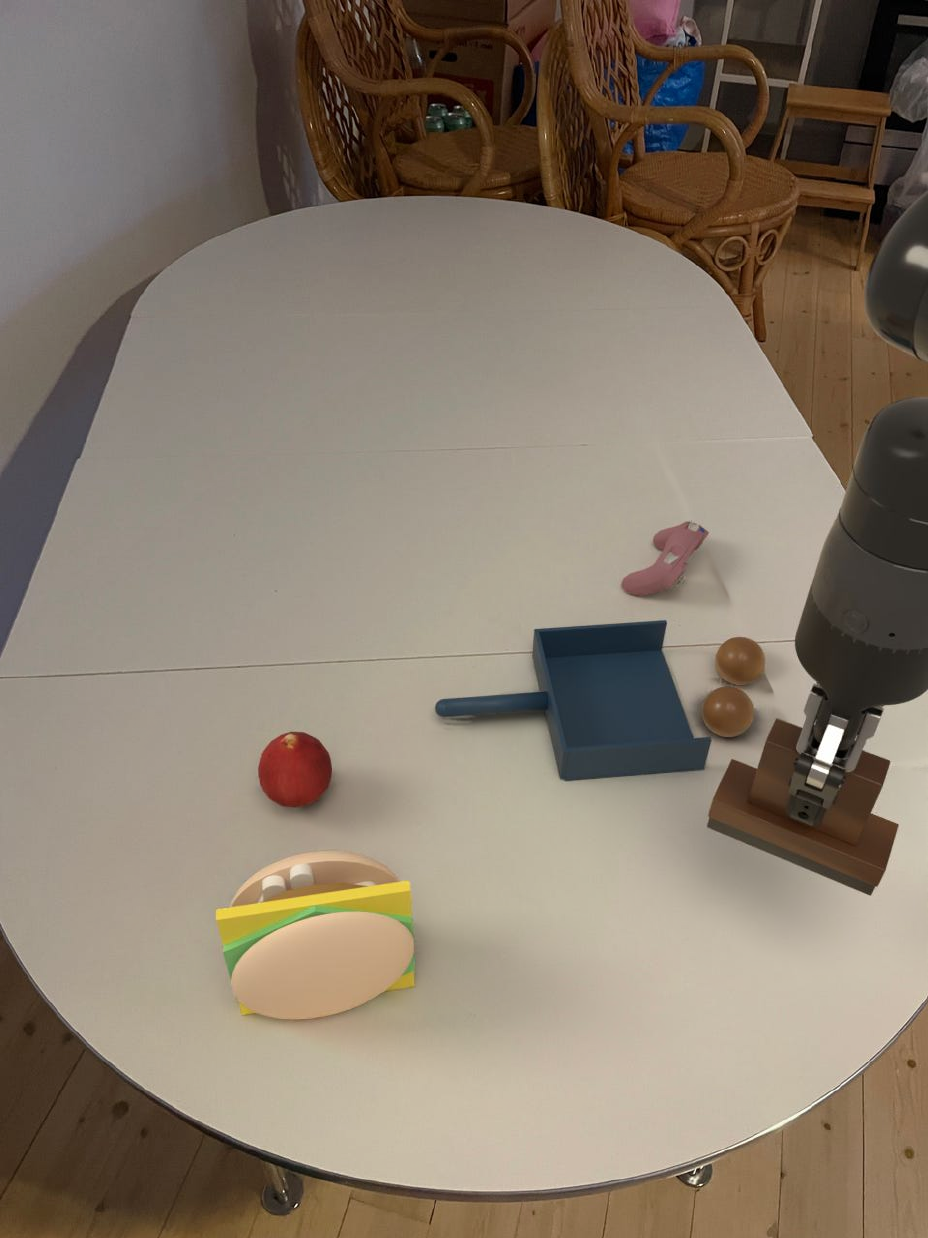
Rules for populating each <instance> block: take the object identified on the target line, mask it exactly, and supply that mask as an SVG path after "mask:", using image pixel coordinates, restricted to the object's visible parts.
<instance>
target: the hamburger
mask: <svg viewBox="0 0 928 1238" xmlns="http://www.w3.org/2000/svg"><path fill="white" fill-rule="evenodd" d="M412 914H413V913H412V889H411V884H410V880H409V879H408V880H401V881H400V879H399V877H398V876H397V875H396V874H395V873H394V872H393V871H392V870H391V868H389V867H388V866H386V865H385V864H383V863H381V862H380V861H379V860H376V859H374V858H372V857H369V856H366V855H364V854H359V853H355V852H351V851H343V850H317V851H316V850H315V851H308V852H303V853H298V854H294V855H291V856H288V857H285V858H281V859H279V860H277V861H274V862H272V863H270V864H269V865H267V866H265V867H264V868H262V869H260V870H258V871H257V872H255V873H254V874H253V875H251V876H250V877H249V878H248V879H247V880H246V881H245V882H244V883H243V884H242V885H241V887H240V888H239V889H237V891H236V893H235V894H234V897H233V898H232V900H231V902H230V904H229V907H224V908H217V909H215V922H216V925H217V928H218V929H217V930H218V932H219V936H220V940H221V943H222V953H223V957H224V960H225V964H226V967H227V971H228V975H229V978H230V984H231V989H232V993H233V995H234V997H235V1000H236V1001H237V1003H238V1005H239V1009H240V1013H241V1016H247V1015H253V1014H258V1015H261V1016H265V1017H267V1018H273V1019H277V1020H278V1019H279V1020H296V1021H297V1020H310V1019H316V1018H323V1017H327V1016H333V1015H336V1014H339V1013H342V1012H345V1011H348V1010H351V1009H354V1008H357V1007H359V1006H361V1005H363V1004H365V1003H367V1002H369V1001H371V1000H372V999H375V998H376V997H377V996H379V995H381V994H382V993H385V992H390V991H395V990H397V991H398V990H402V989H407V988H415V985H416V984H415V969H416V968H415V940H414V922H413V915H412Z"/></svg>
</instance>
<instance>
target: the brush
mask: <svg viewBox="0 0 928 1238" xmlns="http://www.w3.org/2000/svg"><path fill="white" fill-rule="evenodd" d="M802 728H803V727H802V726H798V725H796V724H793V723H791V722H788V721H785V720H782V719H780V718H775V719H774V722H773V723H772V726H771V728H770V730H769V733H768V735H767V737H766V740H765V742H764V745H763V749H762V752H761V754H760V759H759V762H758V765H757V768H756V767H754V766H752V765H749V764H747V763H744V762H741V761H739V760H736V759H734V758H731V759H730V760H729V763H728V766H727V767H726V770H725V772H724V774H723V775H722V778H721V780H720V783H719V784H718V787H717V788H716V791H715V793H714V795H713V798H712V800H711V804H710V807H709V810H708V814H707V817H708V821H707V824H706V828H708V829H710V830H712V831H715V832H717V833H719V834H721V835H724V836H726V837H729V838H732V839H733V840H737V841H739V842H741V843H743V844H745V845H747V846H751V847H753V848H755V849H756V850H757V849H758V850H759V851H762V852H764V853H766V854H769V855H772V856H774V857H777V858H779V859H781V860H784V861H786V862H789V863H791V864H793V865H795V866H798V867H801V868H803V869H804V870H808V871H810V872H813V873H815V874H817V875H819V876H822V877H824V878H827V879H828V880H832V881H834V882H836V883H838V884H841V885H844V886H846V887H848V888H850V889H853V890H856V891H858V892H860V893H862V894H864V895H867V896H872V895H873V893H874V891H875V889H876V888H878V887H879V885H880V883H881V881H882V879H883V877H884V875H885V873H886V870H887V868H888V864H889V863H888V862H889V861H890V857H891V854H892V850H893V846H894V843H895V840H896V837H897V834H898V830H899V826H900V825H899V823H897V822H895V821H893V820H890V819H887V818H884V817H882V816H879V815H876V814H873V813H872V812H873V809H874V808H875V805H876V803H877V801H878V798H879V796H880V794H881V791H882V789H883V787H884V784H885V781H886V778H887V775H888V772H889V768H890V765H891V760H890V759H887V758H885V757H882V756H880V755H877V754H875V753H871V752H868V751H866V750H864V749H863V750H862V753H861V755H860V758H859V760H858V762H857V765H856V767H855V769H854V770H853V771H851V772H845V773H844V776H846V779H845V782H844V784H843V785H841V787H840V789H839V790H838V791H837V794H836V796H835V797H837V799H836V801H835V804H834V805H833V804H832V805H831V807H830V809H826V812H825V814H824V817H823V819H822V822H821V824H820V825H819V826H817V827H814V826H811V825H808V824H806V823H803V822H801V821H798V820H796V819H793V818H791V817H789V816H788V815H787V814H786V812H785V810H786V807H787V804H788V801H789V799H790V796H791V794H789V793H788V791H789V788H790V787H788V784H789V781H790V779H792V776H793V773H794V770H795V767H794V766H793V764H794V762H795V759H796V757H797V758H799V757H800V753H798V751H797V749H796V745H797V743H798V740H799V737H800V734H801V731H802Z"/></svg>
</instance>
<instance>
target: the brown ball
mask: <svg viewBox="0 0 928 1238" xmlns="http://www.w3.org/2000/svg"><path fill="white" fill-rule="evenodd" d="M714 659H715V661H714V662H715V668H716V669H717V672H718V674H719V675H720V676H721V678H722V679H723V680H724V681H726V682H728V683H730V684H733V685H737V686H745V685H749V684H751V683H754V682H755V681H757V680H758V679H759V678H760V677H761V675H762V674H763V672H764V670H765V667H766V656H765V652H764V650H763V649H762V647H761V646H760V645H759V643H757V641H755V640H754V639H752V638H749V637H746V636H735V637H731V638H729V639H727V640H725V641H724V642H723V643H722V644H721V645H720V646H719V647H718V649H717V651H716V654H715V658H714Z"/></svg>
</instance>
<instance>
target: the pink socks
mask: <svg viewBox="0 0 928 1238" xmlns="http://www.w3.org/2000/svg"><path fill="white" fill-rule="evenodd" d="M708 536H709V531H708V530H706V528H704V527H703V526H702V525H700V524H698V523H695V522H694V521H693V520H690V521H689V520H688V521H684V522H682V523H680V524H678V525H675V526H671V527H666V528H664V529H661V530H659V531H658V532H657V533H655V534H654V535H653V538H652V543H653V545H654V547H655V548H657V549H658V550H660V551H661V552H660V554H659V556H658V557H657V559H656V560H655V562H654V563H653V564H652V565H650V566H649V567H646V568H644V569H641V570H638V571H634V572H631V573H628V574H627V575H626V576H624V577H623V579H622V581H621V587H622V589H623V591H624V592H626V593H627V594H629V595H633V596H649V595H654V594H656V593H659V592H662V591H666V590H668V589H670V587H671V586H673V585H674V584H676V585H675V586H677V587H678V586H681V585H682V584H683V583H684V582H685V579H686V575H684V576H683V573H684V571H685V569H686V568H687V566H688V563H687V561H688V559H689V558H690V557H691V556H692V554H694V553H695V552H696V551H698V549H699V548H700V547H701V546H702V545H703V543H704V541H705V540H706V539H707V537H708Z"/></svg>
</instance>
